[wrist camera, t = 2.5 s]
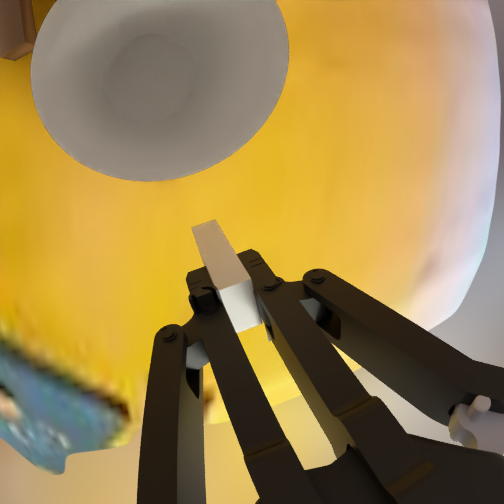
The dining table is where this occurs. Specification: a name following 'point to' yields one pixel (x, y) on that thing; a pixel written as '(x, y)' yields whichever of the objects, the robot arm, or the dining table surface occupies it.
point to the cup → (157, 81)
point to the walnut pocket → (16, 29)
